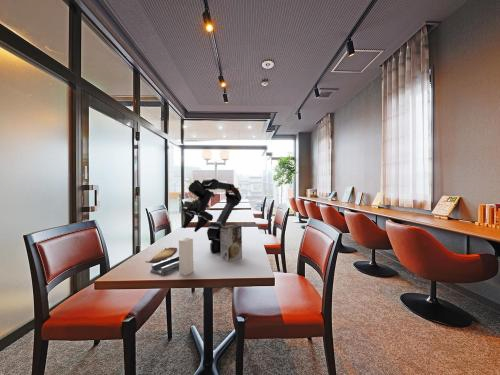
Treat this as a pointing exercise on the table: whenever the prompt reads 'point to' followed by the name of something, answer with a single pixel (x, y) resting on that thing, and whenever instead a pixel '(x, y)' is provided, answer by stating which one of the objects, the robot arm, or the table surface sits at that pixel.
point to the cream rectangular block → (185, 256)
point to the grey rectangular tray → (166, 266)
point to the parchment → (163, 254)
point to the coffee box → (231, 242)
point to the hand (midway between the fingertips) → (189, 229)
